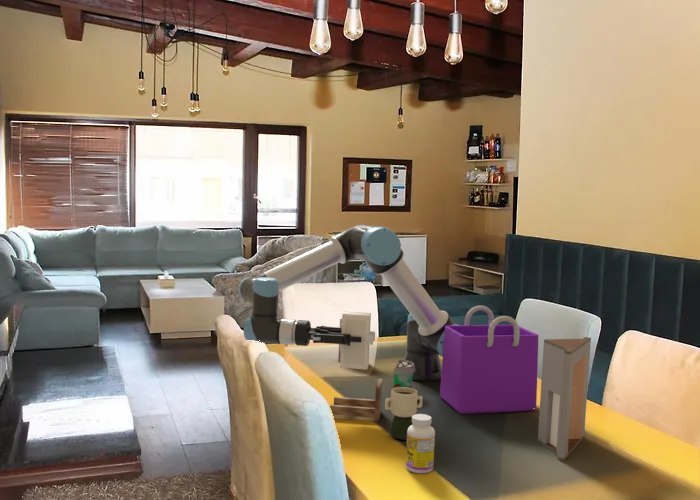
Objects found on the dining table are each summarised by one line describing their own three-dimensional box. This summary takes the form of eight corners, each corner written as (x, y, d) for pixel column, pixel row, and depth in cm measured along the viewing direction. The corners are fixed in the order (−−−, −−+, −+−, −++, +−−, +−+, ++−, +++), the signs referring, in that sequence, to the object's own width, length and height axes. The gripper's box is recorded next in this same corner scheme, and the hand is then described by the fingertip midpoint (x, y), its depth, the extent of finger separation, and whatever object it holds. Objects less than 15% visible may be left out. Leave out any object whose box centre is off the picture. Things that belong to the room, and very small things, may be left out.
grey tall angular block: (563, 461, 176) (570, 351, 173) (526, 452, 181) (532, 346, 178) (584, 437, 193) (591, 337, 191) (549, 429, 199) (555, 332, 196)
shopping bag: (501, 390, 235) (506, 302, 233) (545, 410, 216) (551, 314, 213) (430, 398, 224) (434, 306, 221) (469, 420, 204) (474, 319, 201)
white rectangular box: (368, 366, 208) (371, 313, 207) (366, 369, 204) (369, 315, 203) (342, 363, 209) (344, 311, 208) (339, 367, 205) (342, 313, 204)
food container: (412, 400, 221) (413, 369, 220) (392, 398, 222) (394, 367, 221) (416, 389, 233) (417, 360, 232) (397, 387, 234) (399, 358, 233)
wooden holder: (380, 411, 209) (382, 378, 208) (378, 421, 200) (380, 387, 199) (334, 408, 211) (335, 375, 210) (329, 417, 202) (330, 383, 201)
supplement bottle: (403, 463, 171) (405, 412, 169) (430, 463, 171) (432, 412, 170) (407, 474, 164) (410, 421, 163) (435, 474, 165) (438, 421, 163)
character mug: (415, 431, 193) (417, 385, 192) (426, 440, 186) (428, 393, 185) (378, 434, 190) (380, 387, 188) (388, 444, 183) (390, 395, 182)
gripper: (301, 338, 217) (376, 344, 214) (289, 351, 200) (370, 357, 197) (302, 315, 217) (377, 320, 213) (290, 325, 199) (371, 331, 196)
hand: (373, 338), depth 205 cm, fingers closed on white rectangular box, 4 cm apart
